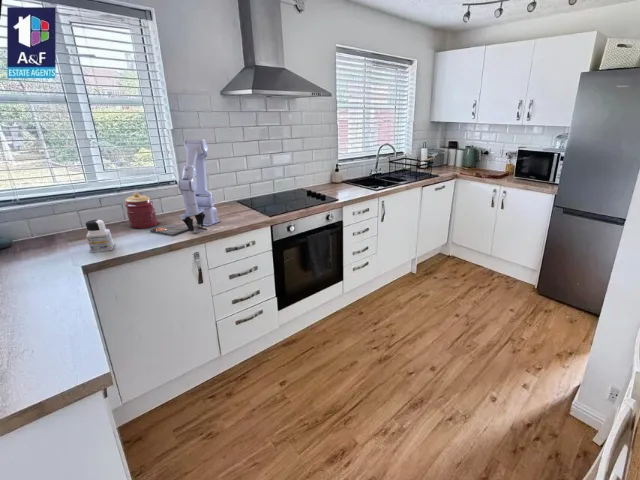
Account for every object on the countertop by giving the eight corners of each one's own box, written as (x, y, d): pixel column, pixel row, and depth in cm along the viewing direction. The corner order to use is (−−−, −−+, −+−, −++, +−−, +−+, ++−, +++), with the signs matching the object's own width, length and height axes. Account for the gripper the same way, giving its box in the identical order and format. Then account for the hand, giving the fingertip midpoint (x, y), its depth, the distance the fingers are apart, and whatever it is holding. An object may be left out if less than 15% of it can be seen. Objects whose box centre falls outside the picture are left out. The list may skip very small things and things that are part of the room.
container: (91, 252, 164) (81, 224, 158) (94, 246, 170) (84, 219, 164) (112, 250, 167) (103, 222, 161) (114, 244, 173) (105, 217, 167)
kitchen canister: (154, 228, 196) (145, 195, 188) (126, 229, 193) (116, 195, 185) (161, 221, 207) (153, 189, 199) (135, 222, 204) (126, 190, 196)
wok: (196, 229, 196) (195, 222, 194) (211, 232, 193) (210, 224, 192) (187, 232, 192) (186, 225, 190) (203, 235, 189) (201, 227, 187)
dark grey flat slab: (169, 225, 201) (169, 223, 200) (191, 229, 196) (191, 227, 196) (150, 232, 191) (150, 229, 190) (172, 236, 186) (172, 234, 186)
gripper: (195, 199, 194) (200, 224, 200) (172, 205, 181) (178, 232, 188) (206, 201, 192) (211, 226, 198) (184, 207, 179) (189, 234, 185)
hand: (196, 229), depth 192 cm, fingers closed on wok, 6 cm apart
